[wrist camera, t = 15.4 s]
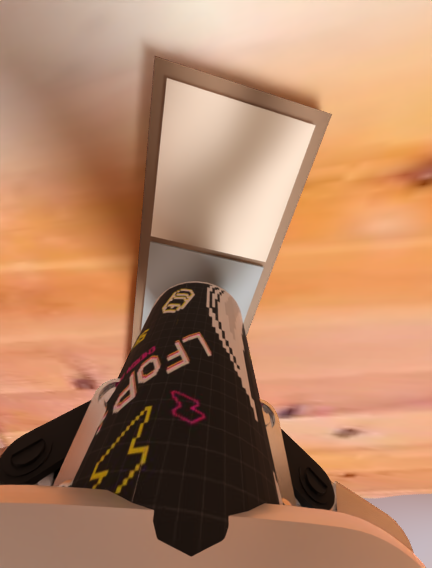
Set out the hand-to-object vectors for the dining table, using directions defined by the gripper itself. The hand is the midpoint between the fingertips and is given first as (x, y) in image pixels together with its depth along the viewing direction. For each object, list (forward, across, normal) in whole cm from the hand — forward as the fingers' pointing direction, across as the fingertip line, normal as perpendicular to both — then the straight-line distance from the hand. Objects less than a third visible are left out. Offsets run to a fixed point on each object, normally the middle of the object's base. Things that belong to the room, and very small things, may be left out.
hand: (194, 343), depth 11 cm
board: (+5, 0, +4) cm, 7 cm away
